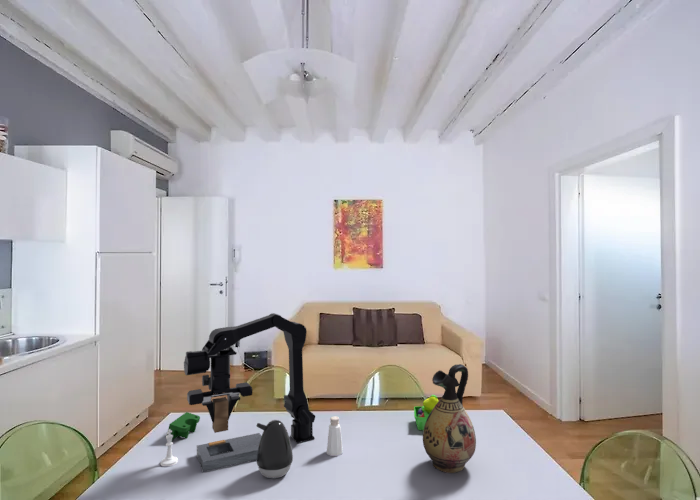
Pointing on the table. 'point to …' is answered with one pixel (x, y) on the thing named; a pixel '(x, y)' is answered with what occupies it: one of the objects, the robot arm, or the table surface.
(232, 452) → the grey peg hole board
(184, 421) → the clamp
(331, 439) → the pepper shaker
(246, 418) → the table surface
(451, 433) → the ceramic jug
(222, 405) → the walnut peg
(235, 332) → the robot arm
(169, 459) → the chess piece
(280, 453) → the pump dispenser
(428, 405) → the fruit basket
